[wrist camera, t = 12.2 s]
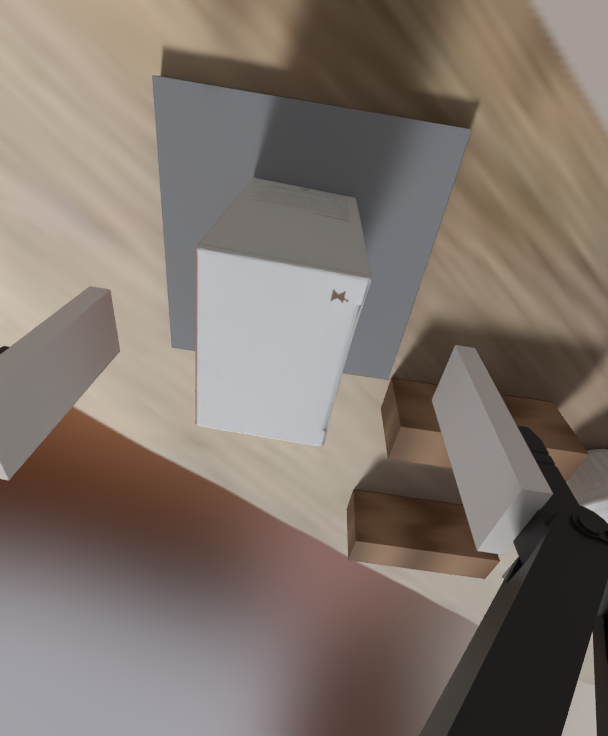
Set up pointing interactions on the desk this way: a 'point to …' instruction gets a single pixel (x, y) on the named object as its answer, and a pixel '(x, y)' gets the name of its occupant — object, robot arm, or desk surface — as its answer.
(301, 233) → the small box
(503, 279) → the desk surface
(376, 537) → the walnut crossbar stand
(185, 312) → the slate grey mat
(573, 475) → the ramekin
